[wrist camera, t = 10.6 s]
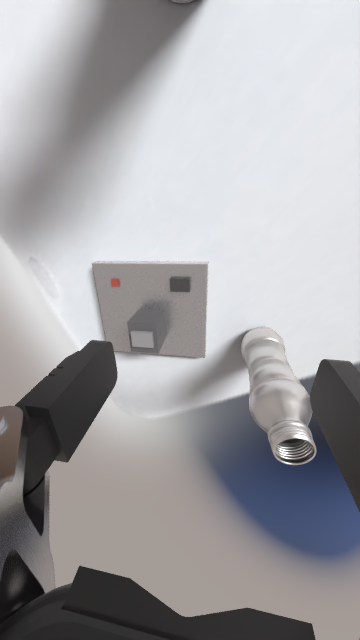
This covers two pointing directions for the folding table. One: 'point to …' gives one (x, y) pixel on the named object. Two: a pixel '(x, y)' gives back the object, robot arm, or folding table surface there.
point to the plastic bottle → (278, 397)
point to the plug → (147, 331)
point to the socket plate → (155, 301)
